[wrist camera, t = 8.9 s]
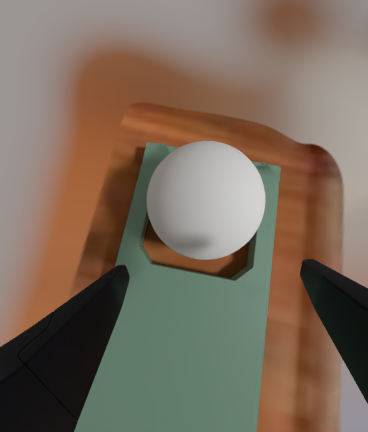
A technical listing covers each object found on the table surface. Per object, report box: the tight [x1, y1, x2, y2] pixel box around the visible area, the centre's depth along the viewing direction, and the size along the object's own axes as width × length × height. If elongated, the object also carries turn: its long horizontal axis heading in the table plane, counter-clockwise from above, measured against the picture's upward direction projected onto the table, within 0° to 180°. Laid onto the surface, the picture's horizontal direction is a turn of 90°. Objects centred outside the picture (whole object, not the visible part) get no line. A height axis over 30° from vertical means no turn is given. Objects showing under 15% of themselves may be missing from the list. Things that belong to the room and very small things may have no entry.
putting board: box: [74, 142, 281, 432], centre depth 20 cm, size 31×17×2 cm, turn 169°
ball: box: [147, 141, 265, 260], centre depth 17 cm, size 11×11×11 cm
